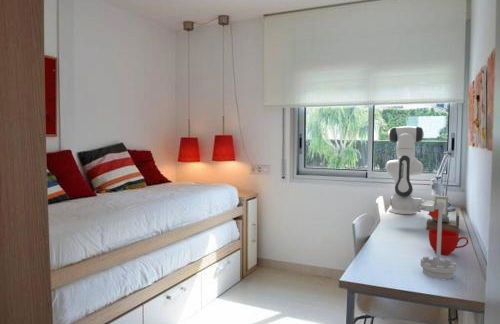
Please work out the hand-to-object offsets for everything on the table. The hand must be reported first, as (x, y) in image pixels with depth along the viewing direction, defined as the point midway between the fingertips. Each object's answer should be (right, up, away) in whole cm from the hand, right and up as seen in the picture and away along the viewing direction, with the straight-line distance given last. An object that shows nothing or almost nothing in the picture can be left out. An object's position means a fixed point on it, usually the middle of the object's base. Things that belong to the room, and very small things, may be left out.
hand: (442, 206), depth 228 cm
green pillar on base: (-1, -8, +1) cm, 8 cm away
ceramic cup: (-23, -17, -48) cm, 56 cm away
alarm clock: (+7, -12, +20) cm, 24 cm away
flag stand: (-41, -19, -76) cm, 88 cm away
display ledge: (0, -13, +1) cm, 13 cm away
